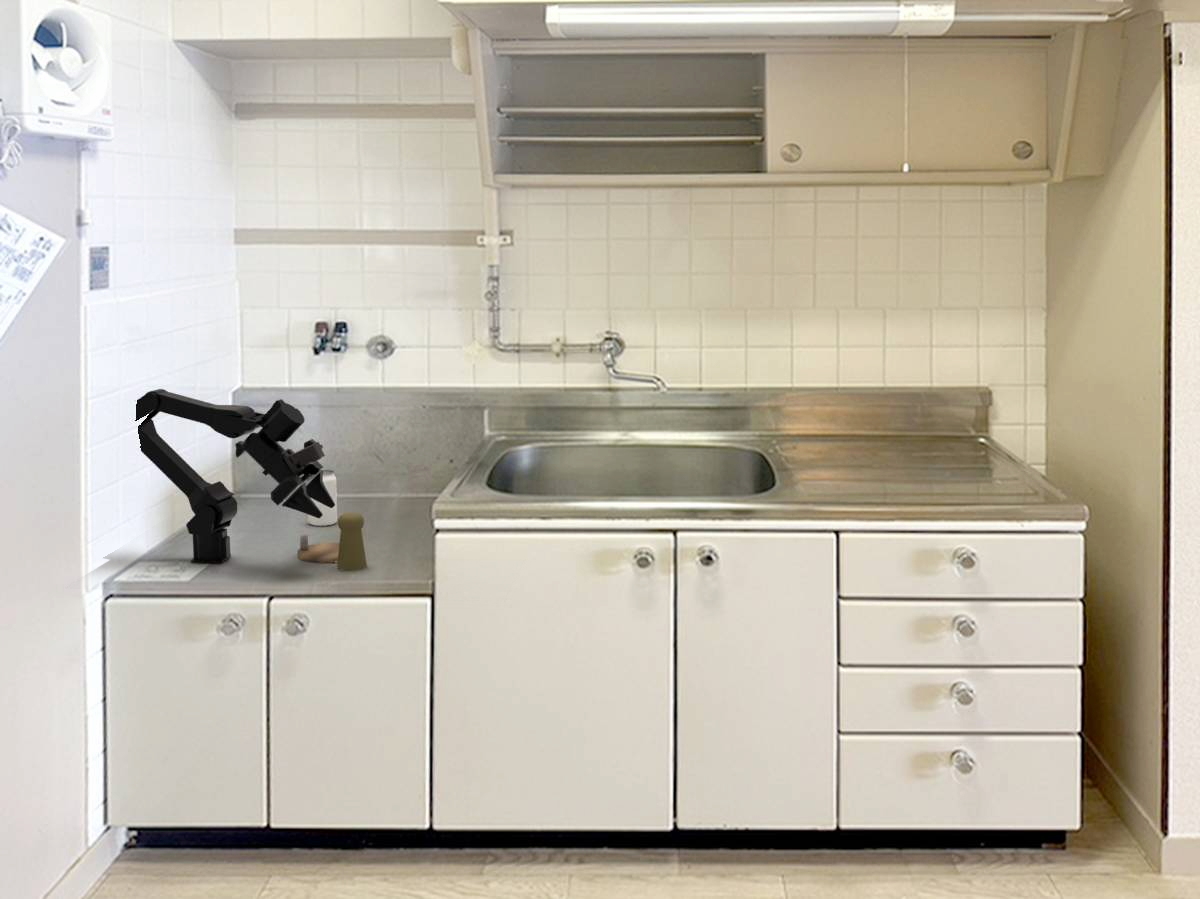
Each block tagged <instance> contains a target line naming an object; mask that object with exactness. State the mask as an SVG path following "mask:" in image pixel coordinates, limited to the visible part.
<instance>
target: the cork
mask: <svg viewBox="0 0 1200 899" xmlns="http://www.w3.org/2000/svg"><path fill="white" fill-rule="evenodd" d="M363 516H364V515H362V514H361V513H357V512H345V513H342V514H340V515H339V517H338V518H337V527H338V528H339V529H340V536H339V542H338V543H339V552H338V561H337V562H336V568H337V567H338V568H340V569H343V570H342V571H359V570H364V569H366V568H367V567H368V562H367V557H366V551H365V550H366V549H365V544H364V539H363V531H362V529H364V525H365V519H364V517H363ZM338 568H337V569H338ZM340 569H339V570H340Z"/></svg>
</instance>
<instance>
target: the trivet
mask: <svg viewBox="0 0 1200 899" xmlns="http://www.w3.org/2000/svg"><path fill="white" fill-rule="evenodd" d="M339 543H340V542H321V543H313V544H309V535H308V534H300V535H299V545H300V546H299V547H300V548H299V549H298V550H297V554H296V555H297V559H299V558H300V560H301V559H302V560H301V561H303V560H305V561H304V562H307V561H311V562H310V563H314V562H335V561H338V552H339ZM335 563H336V562H335Z"/></svg>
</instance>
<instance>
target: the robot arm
mask: <svg viewBox="0 0 1200 899" xmlns="http://www.w3.org/2000/svg"><path fill="white" fill-rule="evenodd" d="M136 400H137V404H136V420H135V421H137V420H139V419H140V418H142V417H144V416H146V415H147V414H149V415H148V416H147V418H146V419H145V420H144V421H143V422H142V423H141V425H139V426H138V434H139V439H140V444H141V446H140V448H141V451H140V452H141V453H142V454H143V455H144V456H145V457H146V458H148V460H149V461H150V462H152V464H154V466H155V467H157V469H159V471H161V473H163V474H164V476H166V477H167V478H168V479H169V480H170V481H171V483H173V485H174V486H176V488H178V490H180V491H181V492H182V494H184V495H185V496H186V498H187V501H188V502H189V505H190V509H191V511H192V512H193V514H194V515H193V516H192V517H191V519H190V520H189V521H188V522H186V524H185V526H186V529H187V531H188V534H189V535H192V550H193V551H192V554H193V556H192V558H191V559H190V563H201V564H202V563H203V564H206V563H207V564H222V563H223V562H225V561H226V560H227V559H229V558H230V557H231V556H232V553H231V537H230V536H229V535H228V529H227V528H229V527H230V526H231V524H232V520H233V519H234V518H235V517H236V515H237V512H238V501H237V500H236V498H235V497H234V496H235V493H234V492H232V491H230V490H228V488H227V487H226V486H225V484H224V483H223V482H222V481H220V480H218V481H217V482H214V483H210V482H207V481H206V480H205V479H204V478H203V477H202V476H201V475H199V473H198V472H197V471H196V470H195V469H193V467H191V465H190V464H189V463H187V461H186V460H184V458H182V456H181V455H179V453H177V452H176V451H175V450H174V448H173V447H171V446H170V445H169V444H168V443H167V442H166V441H165V440H164V439H163V438H162V437H161V436H160V435H159V434H158V431H157V428H156V425H155V421H153V418H155V417H156V416H158V414H159V413H163V414H166V415H167V414H168V415H171V416H174V417H179V418H181V419H185V420H189V421H193V422H197V423H200V424H204V425H206V426H208V427H209V428H211V429H212V430H213V431H214V432H216V433H218V434H220V435H222V436H224V437H227V438H229V439H237V438H240V437H243V436H247V435H248V434H249V435H248V436H247V437H246V438H245V439H244V440H239V441H237V442H236V443H235V444H234V445H235V457H236V458H239V457H241V456H243V455H244V454H245V453H246V454H247V455H249V456H250V457H251V459H252V460H254V462H256V463H257V464H258V465H259V466H260V467H261V468H262V469H263V471H262V474H263V475H264V476H265V477H266V476H270V477H271V479H273V480H274V481H275V482H277V484H278V485H276V486H275V488H274V489H273V490H272V491H270V499H271V501H272V502H273V503H274V504H275V505H276V506H279V505H281V506H282V507H283V508H285V507H286V508H289V509H292V510H295V511H298V512H300V513H303V514H306V515H307V516H308V515H311V516H313V517H316V518H320V517H321V516H322V515H323V514H322V513H321V511H320V510H319V508H318V507H317V506H316V505H315V503H314V502H313V501H312V499H314V500H316V501H318V502H320V503H322V504H323V505H325V506H327V507H330V508H333V507H334V506H335V503H334V501H333V500H332V498H331V496H330V494H329V493H328V491H327V489H326V487H325V485H324V483H323V473H324V471H323V470H324V469H323V468H324V466H323V465H322V464H321V463H320V462H319V461H320V460H321V459H322V458H324V457H325V453H324V452H323V448H324V446H323V445H322V444H320V442H319V441H315V440H314V439H312V438H311V439H309V440H307V441H306V442H304V443H303V448H302V449H299V450H297V451H295V452H294V451H293V449H291V448H287V449H285V448H284V447H283V446H282V445H280V443H279V442H282V443H286V442H287V441H288V440H289V439H290V438H291V437H292V436H293V435H294V433H295V432H297V430H298V429H300V427H301V426H302V425H303V424H304V423H305V420H306V419H305V417H304V415H303V413H302V412H301V410H299V408H296V407H294V406H293V405H292V404H289V403H287V402H285V400H283V399H277V400H275V402H274V403H273V404H272V405H271V407H270V409H268V411H267V412H265V413H263V412H262V413H261V412H257V411H255V410H254V409H253V408H252V407H251V406H247V405H238V404H215V403H211V402H206V401H204V400H200V399H196V398H192V397H189V396H184V395H181V394H178V393H174V392H170V391H167V390H166V389H163V388H159V389H153V390H149V391H147V392H146V393H145V394H144V395H142V396H141V397H139V398H138V399H136ZM258 428H261V429H260V430H259V431H258V432H254V431H255V430H256V429H258ZM320 470H322V471H321V472H319V471H320ZM318 472H319V473H318ZM317 473H318V474H317ZM311 498H312V499H311ZM284 500H285V501H284Z"/></svg>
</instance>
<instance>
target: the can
mask: <svg viewBox="0 0 1200 899" xmlns="http://www.w3.org/2000/svg"><path fill="white" fill-rule="evenodd" d="M322 470H323V471H324V473H323V483H324V485H325V487H326V489H327V491H328V493H329V494H330V496H331V498H332V500H333V501H334V503H335V506H334V507H333V508H330V507H327V506H325V505H323V504H322V503H320V502H318V501H316V500H314V499H312V498H311V499H312V501H313V502H314V503H315V505H316V506H317V507H318V508H319V510H320V511H321V513H322V514H323V515H322V516H321V517H320V518H316V517H313V516H311V515H308V514H307V518H308V524H309V525H310V524H311V525H310V526H312V525H314V526H313V527H328V526H327V525H331V526H333V524H334V525H336V524H335V523H338V501H337V500H338V499H337V497H338V495H337V492H338V490H337V478H336V475H335V474H334V472H335V471H334V470H332V469H321V470H320V471H319V472H321V471H322ZM319 472H318V473H319ZM318 473H317V474H318Z"/></svg>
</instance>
